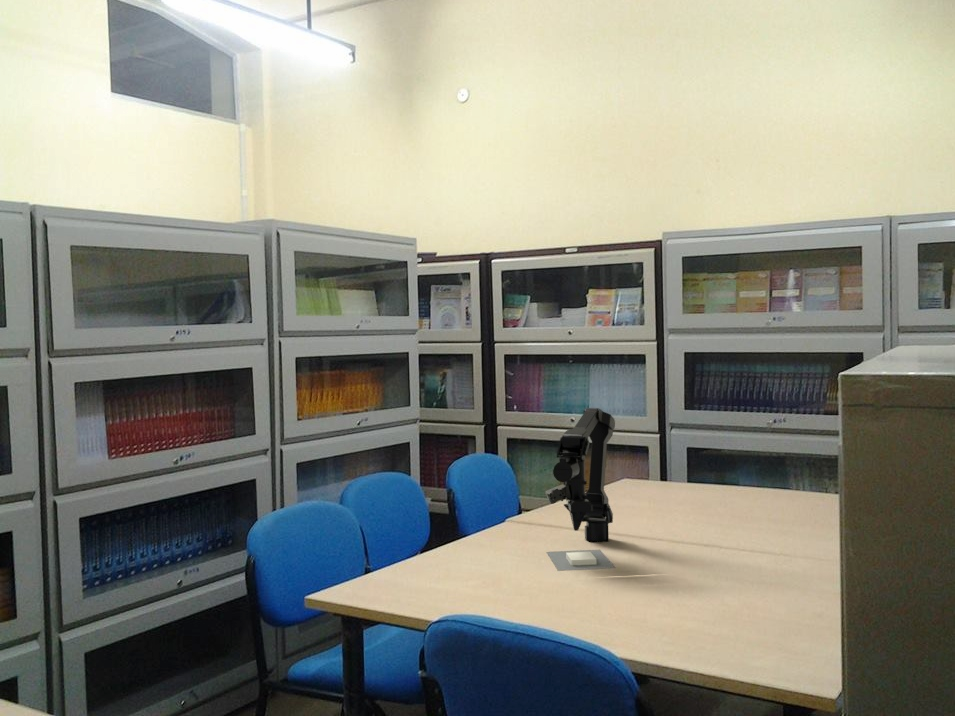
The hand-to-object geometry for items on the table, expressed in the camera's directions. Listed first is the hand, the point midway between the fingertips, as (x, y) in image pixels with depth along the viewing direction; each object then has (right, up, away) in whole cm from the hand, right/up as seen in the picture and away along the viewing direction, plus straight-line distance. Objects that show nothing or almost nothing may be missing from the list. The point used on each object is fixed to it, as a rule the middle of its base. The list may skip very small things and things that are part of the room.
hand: (576, 530), depth 248 cm
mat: (+1, -8, -5) cm, 9 cm away
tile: (0, -7, -3) cm, 7 cm away
